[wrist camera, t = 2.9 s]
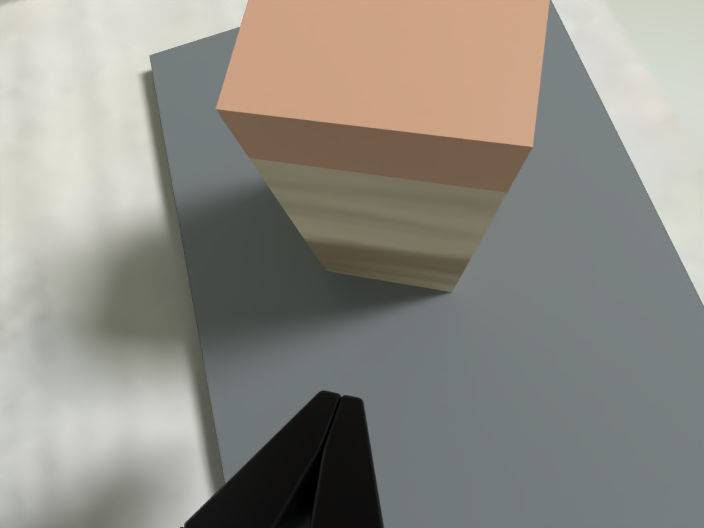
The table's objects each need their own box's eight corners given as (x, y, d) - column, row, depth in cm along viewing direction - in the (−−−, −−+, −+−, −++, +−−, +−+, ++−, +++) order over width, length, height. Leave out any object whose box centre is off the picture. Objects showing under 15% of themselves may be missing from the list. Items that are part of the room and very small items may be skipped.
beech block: (452, 292, 16) (532, 147, 6) (325, 270, 16) (215, 109, 7) (469, 173, 17) (562, -114, 7) (350, 157, 17) (285, -124, 8)
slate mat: (785, 508, 14) (808, 515, 13) (264, 647, 14) (256, 663, 13) (515, -45, 20) (520, -62, 19) (158, 67, 20) (149, 55, 20)
